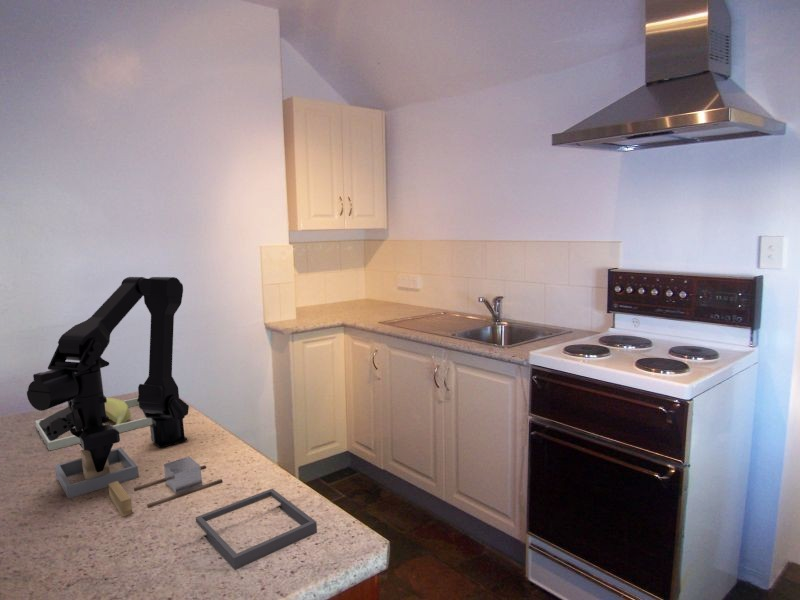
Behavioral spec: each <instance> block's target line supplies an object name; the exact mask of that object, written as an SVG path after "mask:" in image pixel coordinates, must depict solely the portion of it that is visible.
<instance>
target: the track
mask: <svg viewBox="0 0 800 600" xmlns="http://www.w3.org/2000/svg"><path fill="white" fill-rule="evenodd" d="M200 466H201V465H200ZM205 469H207V466H206V464H205V465H202V466H201V471H202V470H205ZM164 482H165V483H166V480H165V477H163V478H160V479H158V480H154V481H152V482H148V483H146V484H145V483H144V484H142V485H139V486H136V487H134V488H133V490H134V491H135V492H136V491H140V490H142V489H146V488H149V487H152V486H155V485H158V484H161V483H164ZM221 483H224V482H223V479H217V480H214V481H212V482H209V483H205V484H202V485H201V486H199V487H196V488H193V489H190V490H187V491H184V492H181V493H178V494H176V493H175V494H174V495H171V496H170V495H169V496H168V497H164V498H162V499H158V500H156V501H153V502H151V503H150V502H149V503H147V504H146V506H147V508H148V509H150V508H152V507H155V506H157V505H161V504H164V503H166V502H170V501H172V500H175V499H177V498H178V499H179V498H182V497H184V496H186V495H190V494H192V493H196V492H198V491H201V490H205V489H207V488H211V487H212V486H216V485H219V484H221ZM108 493H109V498H110V500H111V502H112V503H113V504H114V506H115V508H116V509H117V510H118V512H119V513H120V515H121V516H122V517H125V516H129V515H132V514H133V505H132V504H133V503H132V497H130V496H129V494H128V493H127V491H126V490H125V489H124V487H123V486H122V485H121V484H120V483H119V482H118V481H115V482H112V483H109V484H108Z"/></svg>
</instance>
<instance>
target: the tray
mask: <svg viewBox="0 0 800 600" xmlns="http://www.w3.org/2000/svg"><path fill="white" fill-rule="evenodd" d="M108 462H109V466H111V465H114V464H118V463H121V464H122V465H123V466H124V468H120V469H117V470H114V471H111V472H110V473H107V474H104V475H100V476H97V477H93V478H90V479H87V480H86V479H84V480H80V481H76V482H73V483H71V482H70V481H69V479H68V477H69V478H70V477H73V476H77V475H80V474H84V473H83V465H82V457H79V458H77V459H73V460H69V461H65V462H62V463H57V464H55V465H54V468H55V469H54V470H55V477H56V481H58V482H59V484H60V486H61V489H63V491H64V493H65V495H66V497H67V498H68V499H71V498H75V497H78V496H82V495H85V494H88V493H91V492H94V491H97V490H100V489H104V488H107V487H108V488H109V486H108V484H109V483H112V482H115V481H118V482H119V484H120V483H124V482H127V481H130V480H133V479H136V478H139V477H140V475H139V467H138V465H137V464H136V463H135V461H134V460H133V459H132V458H131V457H130V456H129V455H128V454H127V452H126V451H125V450H124V449H123V448H122V447H117V448H112V449H111V451H110V453H109V456H108Z"/></svg>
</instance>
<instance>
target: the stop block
mask: <svg viewBox="0 0 800 600" xmlns="http://www.w3.org/2000/svg"><path fill="white" fill-rule="evenodd" d="M80 456H81V457H80V458H82V465H83V473H82V474H83V477H84V480H87V479H90V478H93V477H97V476H100V475H104V474H107V473H110V465H109V462H108V459H107V461H106V464H105V467H104V469H103V471H101V472H96V469H95V466H94V463H93V460H92V458H91V455H90V452H89V451H87V450H84V449H80Z"/></svg>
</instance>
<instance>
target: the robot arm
mask: <svg viewBox="0 0 800 600" xmlns="http://www.w3.org/2000/svg"><path fill="white" fill-rule="evenodd" d="M183 294H184V285H183V283H182V282H181V281H180V279H179V278H178V277H176V276H174V277H173V276H172V277H171V276H151V277H149V278H146V277H143V276H128V277H125V278H124V279H122V281H121V283H120V285H119V286H118V288H117V289H116V290H115V291H113V293H112V294H111V295H110V296H109V297H108V298H107V299H106V300H105V301H104V302H103V304H101V306H100V307H99V308H98V309H97V310H96V311H95V312H94V313H93V314H92V315H91V316H90V317H89V318H88V319H86V320H85V321H82V322H80V323H78V324H75V325H74V326H72V327H71V328H70V329H68V330H67V331H65V332H64V333H62V335H61V336H60V337H59V339H58V341H57V344H58V345H57V346H56V349H55V351H54V354H53V356H52V357H51V359H50V362H49V364H48V367H47V369H48V371H43V372H41V371H40V372H37V373H34V374H33V375H32V378H33V380H32V381H31V382H30V383H29V385H28V387H27V391H26V397H27V400H28V402H29V403H30V405H31V406H32V408H34V409H35V410H37V411H40V412H43V411H46V410H49V409H51V408H54V407H57V406H59V405H63V404H65V403H67V406H68V407H65V408H63V409H61V410H58V411H57V412H54V413H53V414H51V415H49V416H48V417H45V419H44V418H43V419H44V420H42V421H41V422H39V425H40V427H41V428H42V430H43V431H44V433H45V434H46V436H47V437H48V439H49V441H53V440H57V439H59V437H61V436H62V435H64V434H66V433H67V432H70V434H72V436H73V435H75V436H76V437H78V438H80V443H79V446H80V447H81V450H87V451H89V452H90V455H91V458H92V460H93V463H94V466H95V469H96V472H101V471H103V469H104V467H105V464H106V461H107V459H108V456H109V453H110V451H111V450H113V446H114V444H117V443H119V442H120V441H121V438H120V433H119V431H118V430H117V429H116V428H115V427H113V426H114V425H111V424H110V423H109V422H110V419H109V417H108V416H107V415H106V411H105V403H106V402H107V399H106V398H107V397H106V396H105V395H104V388H103V387H104V386H103V379H102V370H101V369H102V368H105V367H108V366H110V362H109V361H107V360H105V359H103V357H102V355H103V354H104V352H105V350H106V349H107V347H108V346H109V345H110V339H111V334H112V332H113V331H114V329H116V328H117V326H118V325H119V324H120V323H121V321H123V319H124V318H125V317H126V316H127V315H128V313H130V311H131V310H132V309H133V308H134V307H135V305H137V303H138V302H139V301H141V299H142V297H143V301H144V305H145V307H146V308H147V310H148V312H149V313H150V331H149V332H150V334H149V335H150V336H149V358H148V359H149V360H148V361H149V363H148V376H147V378H146V379H145V381H144V383H143V384H142V383H139V384H138V387H137V389H138V390H137V391H138V396H137V398H138V399H137V402H139V406H138V407H139V409H140V410H142V412H143V414H144V416H145V417H144V418H152V424H151V425H149V428H150V429H149V430H150V439H151V442H153V444H155V445H156V446H157V447H158V448H162V449H163V448H166V447H169V446H172V445H176V444H180V443H183V442H187V441H188V437H187V436H185V428H184V427H185V426H184V419H185V418H186V416H188V415H189V410H190V409H189V408H190V406H189V404H188V403H186V402H185V401H184V400H182V399H181V398H180V393H179V392H180V391H179V386H178V384H177V383H176V381H175V379H174V377H173V354H174V352H173V351H174V350H173V349H174V348H173V346H174V325H175V324H174V322H175V320H174V319H175V314H176V313H177V312H178V309H179V308H180V306H181V305H182V301H183V296H184V295H183ZM107 423H108V424H107Z"/></svg>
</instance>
